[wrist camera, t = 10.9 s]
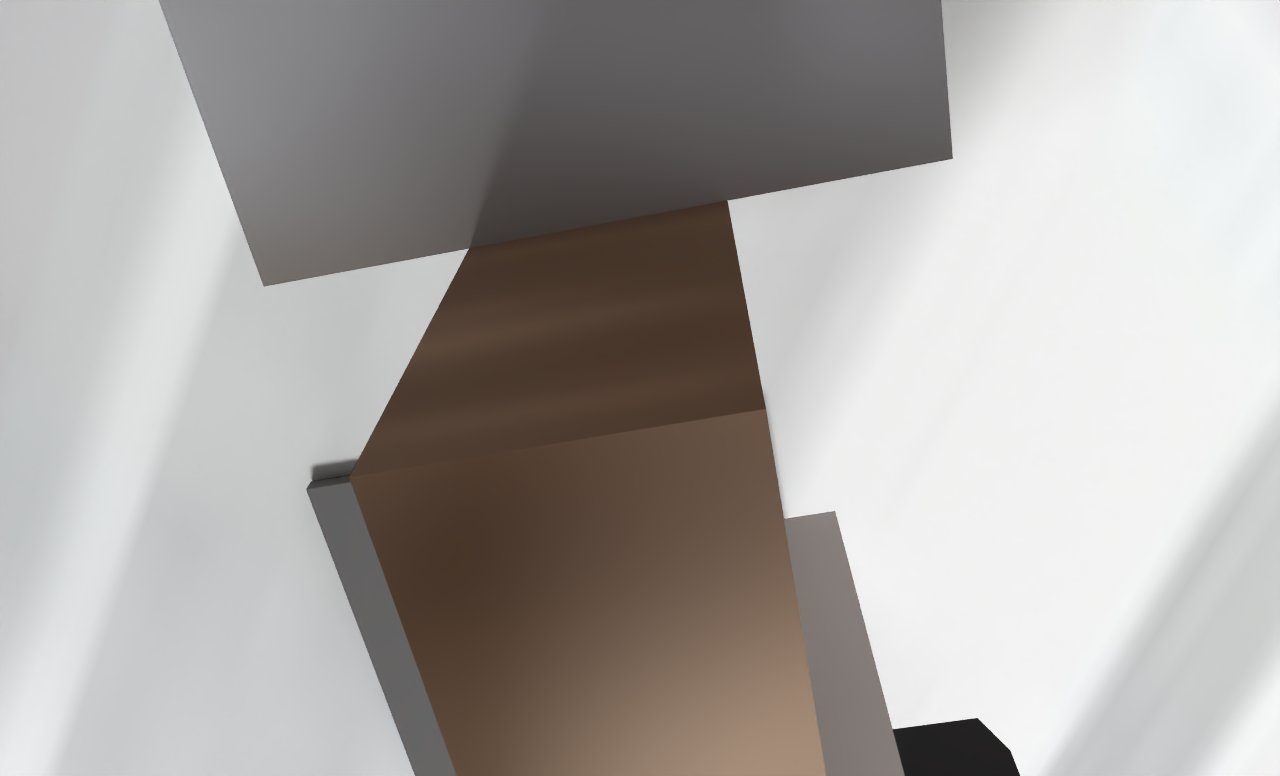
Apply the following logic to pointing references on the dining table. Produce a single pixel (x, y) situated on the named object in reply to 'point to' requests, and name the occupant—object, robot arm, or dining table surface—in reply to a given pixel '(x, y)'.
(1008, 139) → the dining table surface
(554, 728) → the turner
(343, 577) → the mat
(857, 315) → the dining table surface
